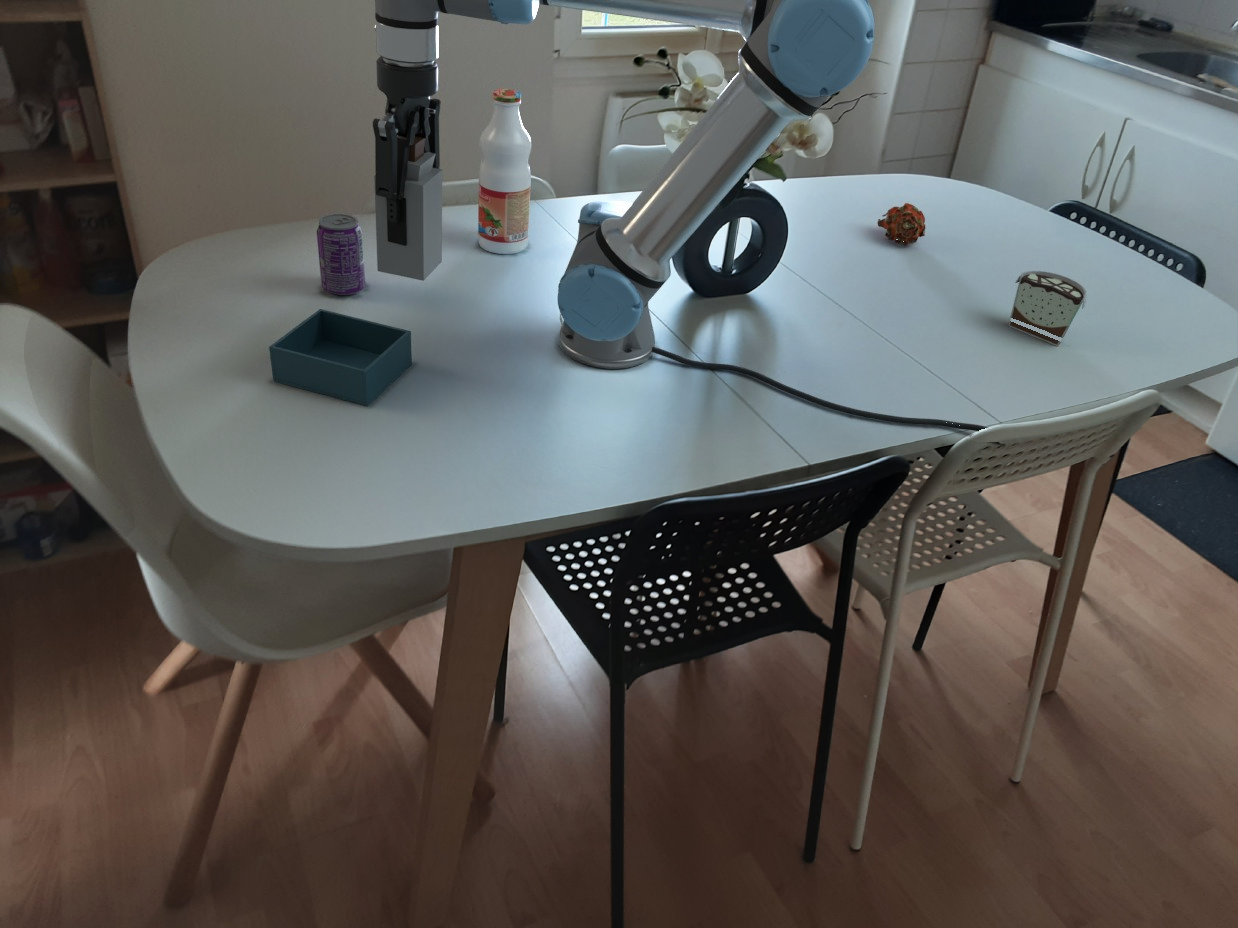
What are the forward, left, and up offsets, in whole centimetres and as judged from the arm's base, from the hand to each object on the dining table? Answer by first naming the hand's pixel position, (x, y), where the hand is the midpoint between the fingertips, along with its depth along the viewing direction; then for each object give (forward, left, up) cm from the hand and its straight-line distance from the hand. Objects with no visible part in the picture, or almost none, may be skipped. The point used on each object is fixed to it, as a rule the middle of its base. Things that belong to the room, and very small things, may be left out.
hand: (409, 234), depth 134 cm
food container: (-93, -60, -21) cm, 113 cm away
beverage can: (+21, -16, -21) cm, 34 cm away
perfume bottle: (0, 0, -5) cm, 5 cm away
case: (+7, +7, -20) cm, 23 cm away
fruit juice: (+5, -46, -21) cm, 51 cm away
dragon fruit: (-66, -90, -21) cm, 113 cm away
